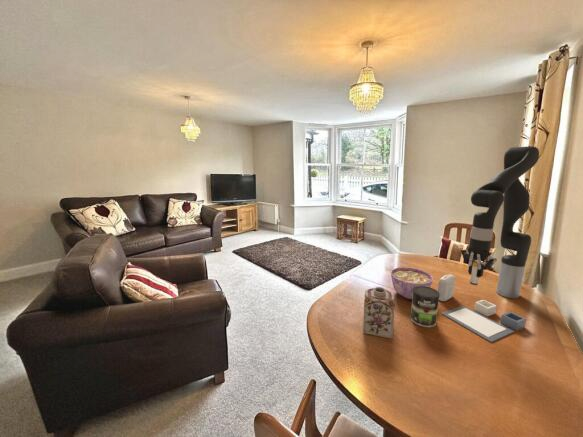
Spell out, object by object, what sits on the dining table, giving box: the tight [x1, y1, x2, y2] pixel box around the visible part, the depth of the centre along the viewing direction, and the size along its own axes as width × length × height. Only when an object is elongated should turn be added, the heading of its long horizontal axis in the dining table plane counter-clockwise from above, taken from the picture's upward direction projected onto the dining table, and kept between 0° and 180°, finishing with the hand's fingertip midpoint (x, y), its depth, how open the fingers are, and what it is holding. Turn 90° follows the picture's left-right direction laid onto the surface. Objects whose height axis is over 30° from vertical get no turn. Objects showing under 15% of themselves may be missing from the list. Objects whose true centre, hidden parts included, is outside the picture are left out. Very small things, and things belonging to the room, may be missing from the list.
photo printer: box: [437, 273, 456, 302], centre depth 129 cm, size 10×4×12 cm, turn 123°
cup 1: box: [473, 299, 497, 318], centre depth 117 cm, size 6×6×4 cm
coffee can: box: [410, 286, 440, 328], centre depth 111 cm, size 10×10×14 cm
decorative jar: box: [362, 286, 396, 339], centre depth 106 cm, size 12×12×18 cm
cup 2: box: [499, 311, 527, 332], centre depth 107 cm, size 6×6×4 cm
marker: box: [469, 261, 480, 286], centre depth 110 cm, size 3×3×10 cm
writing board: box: [441, 305, 515, 343], centre depth 110 cm, size 15×21×1 cm
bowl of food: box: [390, 266, 434, 300], centre depth 132 cm, size 20×20×12 cm
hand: (474, 275), depth 111 cm, fingers closed on marker, 2 cm apart
